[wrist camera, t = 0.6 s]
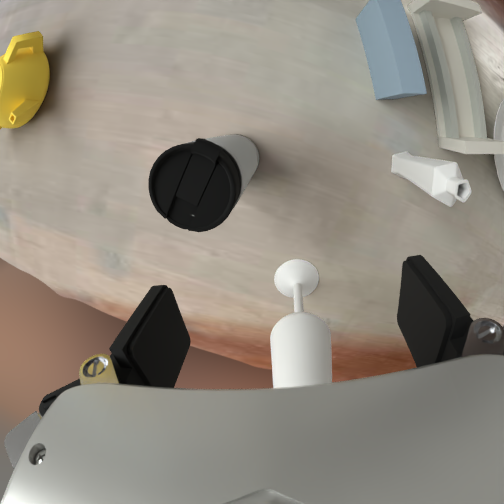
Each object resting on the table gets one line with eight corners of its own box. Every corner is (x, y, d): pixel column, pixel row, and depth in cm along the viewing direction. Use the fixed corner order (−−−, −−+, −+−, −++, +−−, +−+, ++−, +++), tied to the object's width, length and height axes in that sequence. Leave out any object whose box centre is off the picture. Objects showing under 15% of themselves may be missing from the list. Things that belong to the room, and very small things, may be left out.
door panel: (355, 19, 25) (374, -7, 17) (375, 19, 25) (399, -4, 17) (375, 99, 30) (402, 93, 22) (396, 98, 30) (426, 93, 22)
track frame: (407, 5, 23) (427, -11, 16) (455, 14, 21) (478, 3, 15) (438, 147, 31) (465, 154, 25) (482, 147, 30) (510, 154, 23)
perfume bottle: (400, 141, 32) (462, 154, 18) (421, 162, 33) (485, 187, 19) (381, 165, 34) (435, 192, 20) (402, 186, 34) (459, 222, 21)
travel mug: (269, 145, 34) (256, 165, 16) (245, 189, 37) (211, 253, 19) (225, 124, 34) (165, 123, 16) (204, 168, 36) (131, 213, 18)
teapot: (63, 32, 27) (14, 22, 17) (56, 121, 34) (3, 129, 24) (9, 60, 29) (-34, 61, 18) (5, 136, 36) (-39, 148, 25)
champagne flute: (298, 305, 44) (303, 444, 22) (265, 281, 43) (247, 422, 21) (328, 276, 41) (359, 415, 20) (294, 250, 40) (302, 389, 18)
